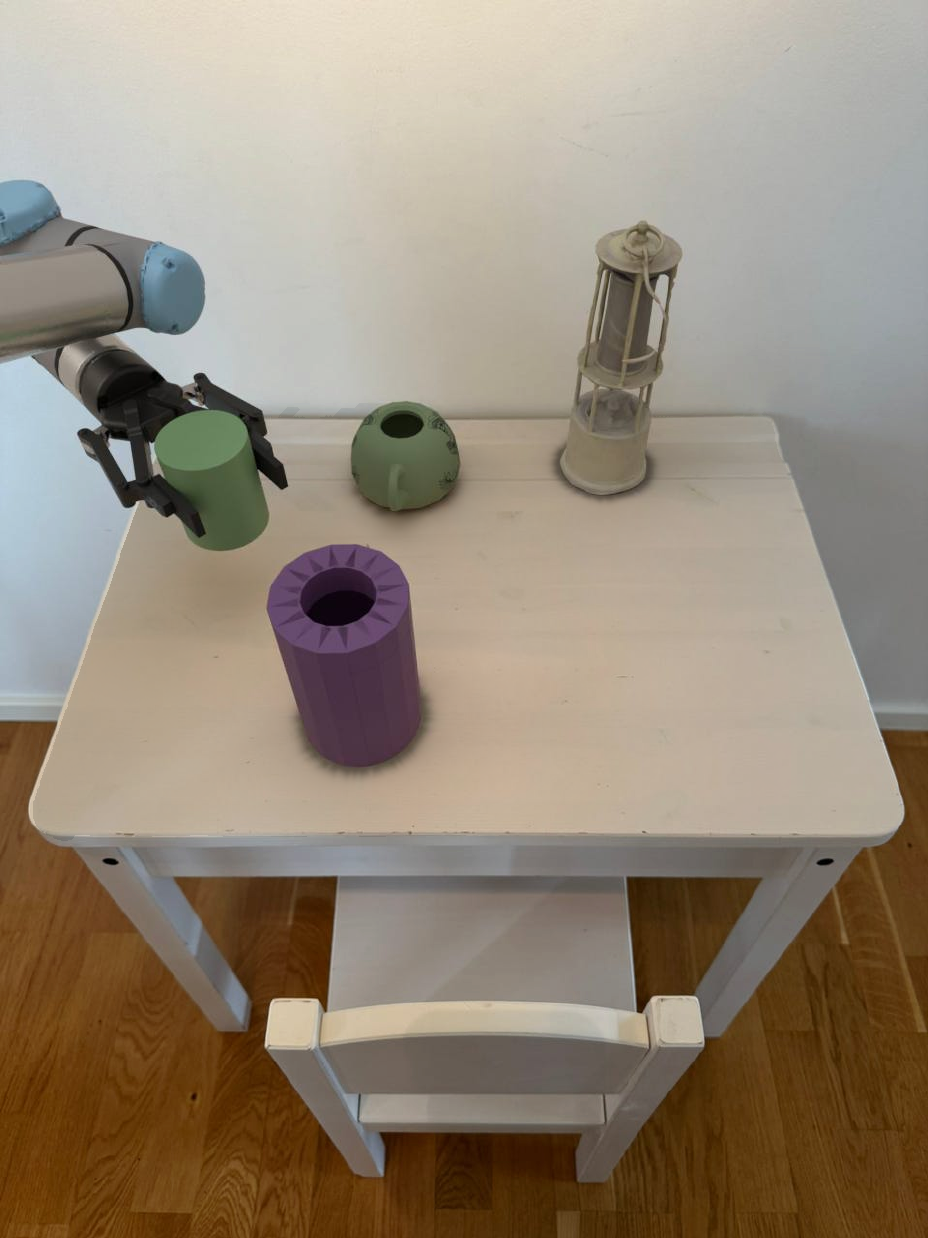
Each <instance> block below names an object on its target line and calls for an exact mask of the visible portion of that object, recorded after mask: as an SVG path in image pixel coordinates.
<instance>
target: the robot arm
mask: <svg viewBox="0 0 928 1238" xmlns="http://www.w3.org/2000/svg"><path fill="white" fill-rule="evenodd" d="M61 211H62V208H61V207H60V205H59V204H58V203H57V201H56V198H55V197H54V195H53V193H52V192H51V190H50V189H48V188H47V187H46V186H45V185H44V184H43V183H41V182H38V181H35V180H31V179H11V180H6V181H2V182H0V365H2V364H6V363H9V362H13V361H16V360H20V359H24V358H28V357H31V359H32V360H34V361H36V362H37V364H38V365H40V366H42V367H43V368H44V369H45V370H46V371H47V372H48V373H49V374H50V375H51V376H52V377H53V378H54V379H55V380H56V381H58V382H59V383H60V384H61V386H63V387H64V388H65V389H66V390H67V391H68V393H70V394H71V395H72V396H73V397H74V398H75V399H76V400H77V401H78V402H79V403H80V404H81V405H82V406H83V407H84V408H85V409H86V410H87V411H88V412H89V414H91V415H92V416H93V417H94V418H95V419H96V421H98V422H99V423H100V424H101V425H100V426H98V427H97V428H95V429H93V430H91V429H90V428H88V427H83V428H80V429H79V430H78V431H77V432H76V435H77V437H78V440H79V441H80V444H81V446H82V448H83V450H84V453H85V454H86V456H87V457H89V458H91V460H93V461H95V462H97V463H98V464H99V466H100V468H101V469H102V471H103V473H104V475H105V476H106V478H107V481H108V482H109V484H110V487H111V488H112V490H113V491H114V493H115V495H116V497H117V498H118V501H119V502H120V504H121V506H122V507H123V508H125V509H130V508H133V507H134V506H136V504H137V502H140V501H144V502H145V505H146V508H148V509H154V510H155V511H156V512H157V513H158V514H159V515H160V516H161V517H163V518H165V519H167V518H169V517H171V516H173V515H174V516H176V517H177V518H178V520H180V522H181V521H182V522H183V523H184V524H185V525H186V526H187V527H188V528H189V529H190V530H191V531H192V532H193V533H194V534H195V535H196V536H197V537H198V538H200V537H202V536H203V535H205V534H206V532H205V529H204V526H203V524H202V521H201V518H200V515H199V512H198V511H197V510H196V509H195V508H194V507H193V506H192V505H191V504H190V503H189V502H188V501H187V500H186V499H185V498H184V497H183V496H182V495H181V494H180V493H179V492H178V491H177V490H176V489H174V488H173V487H172V486H171V485H170V484H169V483H168V482H167V481H166V480H165V477H164V476H163V475H161V473H157V474H155V473H154V466H153V461H152V449H151V445H150V444H154V443H155V439H156V437H157V435H158V433H159V432H160V431H161V429H162V428H163V427H164V426H166V425H167V424H168V423H169V422H171V421H172V420H174V419H176V418H178V417H180V416H182V415H185V414H188V413H191V412H196V411H202V410H218V411H224V412H227V413H230V414H233V415H235V416H236V417H238V418H239V419H240V420H241V421H242V422H243V423H244V424H245V426H246V428H247V431H248V435H249V439H250V442H251V446H252V450H253V454H254V457H255V461H256V465H257V469H258V472H260V473H261V474H262V475H263V476H265V477H266V478H267V479H268V480H269V481H270V482H271V483H273V484H274V485H275V486H276V487H277V488H278V489H279V490H280V491H283V490H286V489H287V488H288V487H289V483H288V478H287V474H286V469H285V466H284V465H285V464H284V463H282V461H281V460H279V459H278V458H277V457H276V456H275V454H274V450H273V446H272V443H271V442H270V441H269V440H268V439H267V438H265V437H266V436H267V435H268V429H267V424H266V421H265V416H264V413H263V410H262V409H260V408H259V407H257V406H255V405H253V404H251V403H249V402H248V401H247V400H246V401H245V400H243V399H242V398H240V397H238V396H237V395H235V394H232V393H230V392H229V391H227V390H225V389H223V388H221V387H220V386H218V385H216V384H214V383H212V381H211V380H210V378H209V377H208V376H207V374H206V373H204V372H197V373H195V374H193V376H192V378H193V381H194V382H191V383H189V384H185V385H183V386H181V385H179V384H177V383H173V382H170V381H167V379H166V378H165V377H164V376H163V375H162V374H161V372H159V371H158V370H157V369H156V368H155V367H153V366H152V365H151V364H150V363H149V362H148V361H147V360H145V358H143V357H142V356H141V355H140V354H139V353H137V352H136V351H135V350H134V349H133V348H132V347H131V346H129V345H128V344H127V343H125V341H123V340H122V339H121V338H120V337H119V336H118V335H116V334H117V333H121V332H127V331H130V330H134V329H147V330H149V332H152V333H155V334H165V335H170V336H179V335H183V334H186V333H187V332H189V331H191V329H192V328H193V327H194V326H195V325H196V324H197V323H198V322H199V320H200V318H201V316H202V314H203V311H204V307H205V304H206V293H205V292H206V287H205V286H206V279H205V276H204V273H203V269H202V268H201V266H200V264H199V262H198V261H197V260H196V259H195V257H194V256H192V255H191V254H190V253H189V252H186V251H184V250H181V249H179V248H177V247H175V246H174V247H173V246H171V245H169V244H166V243H163V242H162V241H160V240H159V241H158V240H157V241H152V240H149V239H145V238H141V237H137V236H132V235H130V234H125V233H120V232H117V231H113V230H108V229H106V228H101V227H98V226H96V225H91V224H87V223H84V222H80V221H76V220H73V219H70V218H69V219H68V218H64V217H63V215H62V212H61ZM190 400H192V401H194V402H195V403H197V404H198V405H196V404H193V403H192V402H191V401H190ZM203 406H205V407H203ZM110 439H112V440H115V441H116V440H117V441H124V442H129V445H130V451H131V458H132V465H133V471H134V477H135V479H133V480H129V481H128V480H127V478H126V476H125V475H124V472H123V471H122V470H121V468H120V466H119V464H118V462H117V460H116V459H115V457H114V455H113V454H112V452H111V450H110V446H111V443H110V441H109V440H110ZM182 522H181V523H182Z"/></svg>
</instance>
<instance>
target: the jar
mask: <svg viewBox="0 0 928 1238" xmlns="http://www.w3.org/2000/svg"><path fill="white" fill-rule="evenodd" d="M265 609H266V612H267V615H268V618H269V622H270V625H271V628H272V631H273V634H274V637H275V640H276V644H277V647H278V651H279V653H280V656H281V659H282V662H283V666H284V669H285V672H286V675H287V678H288V682H289V685H290V688H291V691H292V694H293V697H294V700H295V704H296V707H297V711H298V713H299V716H300V720H301V722H302V726H303V729H304V732H305V734H306V738H307V740H308V741H309V743H310V744H311V746H312V748H314V750H315V751H316V752H317V753H318V754H320V755H321V756H322V757H324V758H325V759H327V760H329V761H330V762H333V763H335V764H339V765H342V766H346V767H358V768H359V767H368V766H374V765H377V764H381V763H384V762H386V761H389V760H390V759H393V758H394V757H396V756H397V755H398V754H400V753H401V752H402V751H404V750H405V748H406V747H407V746H408V745H409V744H410V743H411V742H412V740H413V739H414V737H415V735H416V733H417V732H418V729H419V726H420V723H421V718H422V717H421V716H422V709H421V708H422V699H421V690H420V678H419V670H418V660H417V650H416V642H415V630H414V620H413V611H412V602H411V591H410V584H409V582H408V579H407V578H406V575H405V574H404V571H403V570H402V568H401V566H400V565H399V564H398V563H397V562H395V561H394V560H393V559H392V558H390V557H389V556H387V554H385V553H384V552H382V551H381V550H378V549H375V548H371V547H368V546H364V545H361V544H357V543H349V544H348V543H347V544H346V543H343V544H341V543H340V544H329V545H324V546H322V547H321V546H320V547H319V548H315V549H312V550H309V551H305V552H303V553H302V554H300V555H299V556H298V557H296V558H295V559H293V560H291V561H290V562H289V563H287V564H286V565H285V566H283V568H282V569H281V570H280V572H279V573H278V574H277V576H276V577H275V579H274V580H273V582H272V583H271V585H270V586H269V591H268V597H267V603H266V608H265Z"/></svg>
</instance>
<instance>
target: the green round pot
mask: <svg viewBox="0 0 928 1238" xmlns="http://www.w3.org/2000/svg"><path fill="white" fill-rule="evenodd" d="M350 448H351V449H350V472H351V475H352V478H353V480H354V482H355V485H356V486H357V488H358V489H359V490H360V493H361V494H362V495H363V497H364V498H366V499H368V500H369V501H371V502H373V503H375V504H376V505H378V506H380V507H385V508H389V510H390V511H392V512H398V511H400V510H409V509H421V508H423V507H426V506H428V505H431V504H433V503H436V502H438V501H440V500H441V499H442V498H443V497H445V496H446V495H447V494H448V493H450V491H452V490H453V488H454V486H455V483H456V481H457V478H458V476H459V472H460V467H461V458H460V452H459V448H458V443H457V439H456V435H455V434H454V431H453V430H452V428H451V427H450V425H449V424H448V423H447V422H446V421H445V419H444V418H443V417H442V415H441V414H440V413H439V412H438V411H437V410H434V409H433V408H431V407H429V406H426V405H425V404H422V403H420V402H414V401H408V400H404V401H392V402H389V403H387V404H384V405H381V406H379V407H377V408H375V409H374V410H373V411H371V413H369V414H368V415H367V416H365V417H364V418H363V420H362V421H361V423H360V425H359V427H358V429H357V431H356V432H355V435H354V436H353V439H352V442H351V447H350Z"/></svg>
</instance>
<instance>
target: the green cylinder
mask: <svg viewBox="0 0 928 1238" xmlns="http://www.w3.org/2000/svg"><path fill="white" fill-rule="evenodd" d="M153 448H154V449H153V451H154V454H155V456H156V460H157V461H158V464H159V467H160V469H161V472H162V474H163V475H162V476H163V478H164V479H165V480H166V481H167V482H168V483H169V484H170V485H171V486H172V487H173V488H174V489H176V490H177V491H178V492H179V493H180V494H181V495H182V496H183V497H184V498H185V499H186V500H187V501H188V502H189V503H190V504H191V505H192V506H193V507H194V508H195V509H196V510H197V511H198V512H199V515H200V518H201V521H202V524H203V526H204V529H205V532H206V534H205V535H203V536H202V537H200V538H198V537H197V536H196V535H195V534H194V533H193V532H192V531H191V530H190V529H189V528H188V527H187V526H186V525H185V524H184V523H183V522H182V521H181V520H180V522H181V524H182V526H183V529H184V533H185V534H186V536H187V538H188V539H189V541H190V542H191V543H193V544H194V545H195V546H196V547H198V548H201V549H203V550H207V551H212V552H213V551H214V552H227V551H233V550H237V549H240V548H243V547H245V546H247V545H249V544H251V543H253V542H254V541H255V540H257V539H258V538H259V537H260V536H261V535H262V534H263V533H264V531H265V530H266V528H267V527H268V525H269V521H270V510H269V507H268V503H267V502H268V501H267V499H266V495H265V490H264V488H263V483H262V480H261V476H260V473H259V472H260V471H259V470H258V469H257V465H256V461H255V457H254V454H253V450H252V446H251V442H250V439H249V435H248V431H247V428H246V426H245V424H244V423H243V422H242V421H241V420H240V419H239V418H238V417H236V416H235V415H233V414H230V413H227V412H224V411H218V410H202V411H196V412H191V413H188V414H185V415H182V416H180V417H178V418H176V419H174V420H172V421H171V422H169V423H168V424H167V425H166V426H164V427H163V428H162V429H161V431H160V432H159V433H158V435H157V437H156V439H155V442H154V443H153Z"/></svg>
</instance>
